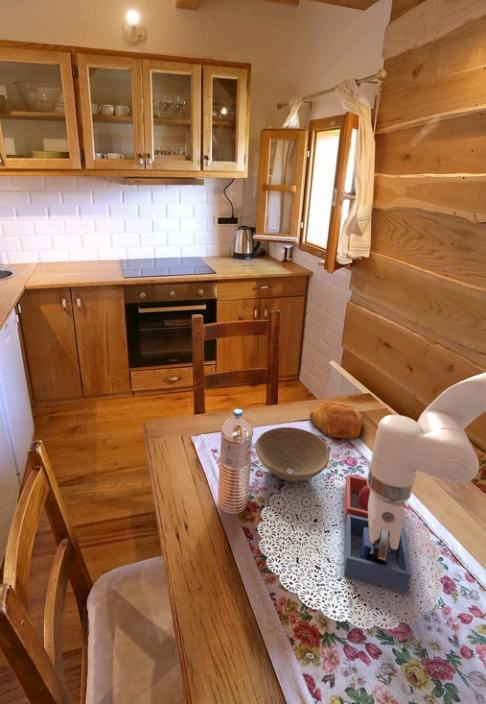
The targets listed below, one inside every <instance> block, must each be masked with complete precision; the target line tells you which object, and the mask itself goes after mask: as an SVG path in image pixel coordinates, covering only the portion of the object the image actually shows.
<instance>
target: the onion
mask: <svg viewBox="0 0 486 704" xmlns="http://www.w3.org/2000/svg"><path fill="white" fill-rule="evenodd" d="M369 495H370V489H369V487H368V485H367V486H365V487H363V488H362V489H361V491H360V493H359V494H358V502H359V505H360V507H361V508H362V510H365V511H368V501H369Z"/></svg>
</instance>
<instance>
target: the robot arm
mask: <svg viewBox="0 0 486 704" xmlns="http://www.w3.org/2000/svg"><path fill="white" fill-rule="evenodd" d="M485 413H486V371H485V372H483V373H481V374H477V375H474V376H471V377H468V378H466V379H464V380H462V381H459V382H457V383H455V384H453V385H451V386H449V387H448V388H446V389H445V390H444V391H442V393H440V394H439V395H438V396H437V397H436V398H435V399H434V400H433V401H432V402H431V403H430V404H429V405H428V406H427V407H426V408H425V409H424V410H423V412H422V413H421V414H420V416H419V418H418V420H417V421H416V420H414V419H412V418H410V417H408V416H406V415H399V414H390V415H389V414H388V415H386V416H384V417H383V418H382V419H380V421H379V422H378V425H377V429H376V435H375V440H374V444H373V449H372V454H371V459H370V463H369V469H368V474H367V478H366V479H367V485H368V487H369V489H370V495H369V501H368V526H369V527H367V528H369V538H370V541H371V547H370V549H369V548H368V552H367V557H366V560H367V561H371V562H375V563H379V564H382V565H384V564H385V561H386V556H387V549H388V543H389V548H390V549H391V550H394V551H397V548H398V545H399V540H400V534H401V529H402V527H403V523H404V517H405V504H406V502H407V501H409V500H410V499H411V497H412V492H413V488H414V484H415V479H416V476H417V472H418V471H419V472H421V473H424V474H426V475H429V476H431V477H433V478H435V479H439V480H441V481H443V482H448V483H454V484H462V483H463V484H464V483H467V482H468V483H469V482H470V481H472V480H474V479H475V478H476V477H477V475H478V474H479V470H480V462H479V458H478V455H477V452H476V450H475V449H474V447H473V446H472V443H471V441H470V439H469V437H468V435H467V433H466V431H465V429H466V428H467V427H468V426H469V425H470V424H472V422H474V420H476V419H477V418H478V417H480V416H481V415H482V414H485ZM375 543H378V544H379V548H375Z"/></svg>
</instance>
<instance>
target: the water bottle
mask: <svg viewBox="0 0 486 704" xmlns="http://www.w3.org/2000/svg"><path fill="white" fill-rule="evenodd" d="M232 412H233V414H232V415H231V416H229V417H227V419H225V420H224V422H222V424H221V427H220V453H219V462H218V463H219V464H218V488H217V491H218V492H217V505H218V507H219V509H220V510H221V511H223V512H224V513H226V514H229V515H238V514H241V513H243V512H244V511H246V509H247V507H248V503H249V493H250V492H249V491H250V478H251V477H250V476H251V467H252V465H251V464H252V459H251V458H252V457H251V456H252V445H253V444H252V443H253V437H254V427H253V425H252V423H251V421H250V420H248V418H246V417H245V416H243V410H242V409H241V408H236V409H234V410H233V411H232Z"/></svg>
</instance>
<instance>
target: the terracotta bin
mask: <svg viewBox="0 0 486 704" xmlns="http://www.w3.org/2000/svg"><path fill="white" fill-rule="evenodd" d="M365 486H367V478H365V477H360V476H356V475H351V474H346V479H345V484H344V510H343V511H344V513H343V515H344V517H343V518H344V521H343V523H344V524H345V523H346V517H347V514H350V515H354V516H358V517H362V518H366V519H368V511H365V510H364V509H361V508H356V507H353V506H351V493H354V494H358V495H359V493H360V491H361V489H362V488H363V487H365Z"/></svg>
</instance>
